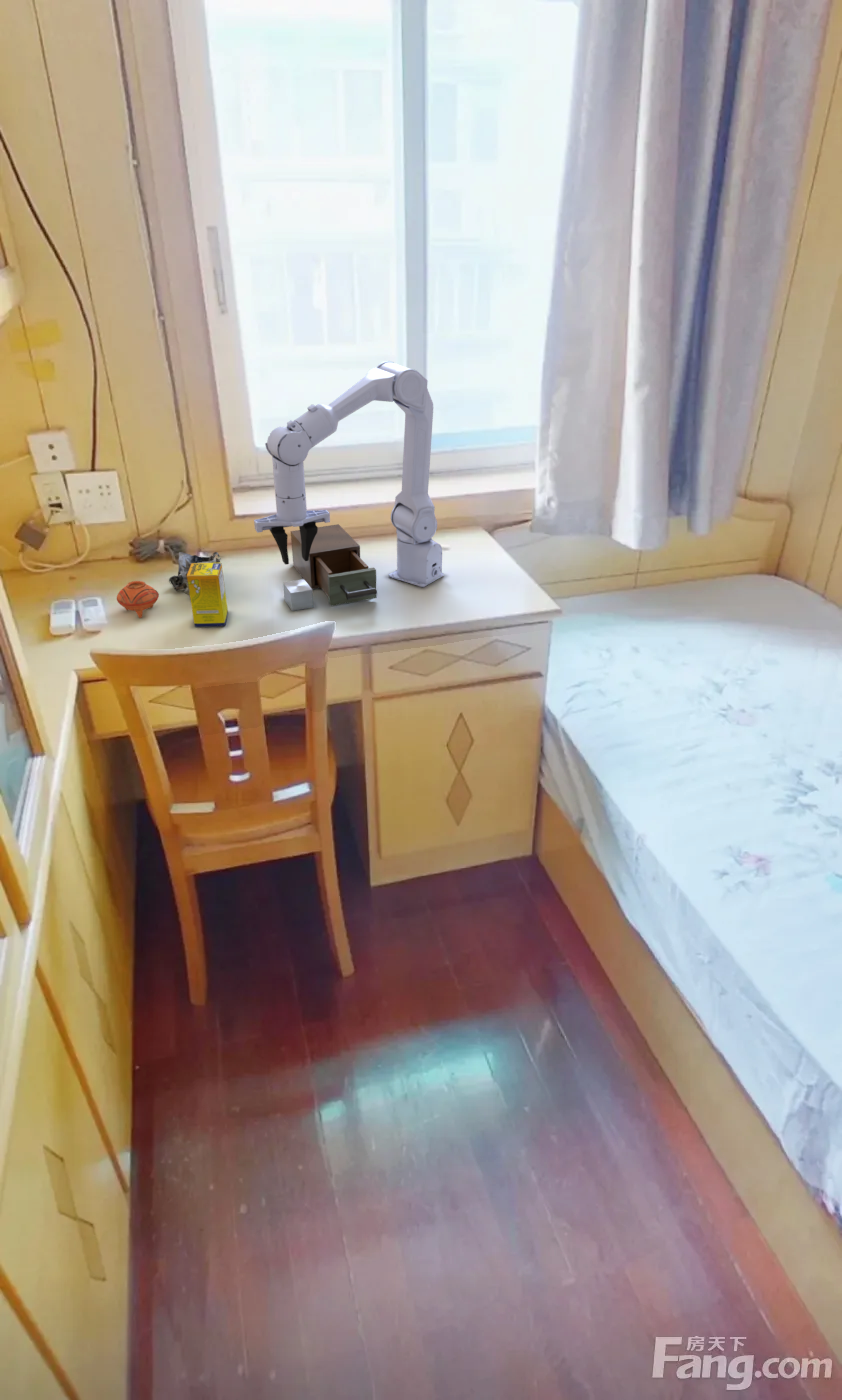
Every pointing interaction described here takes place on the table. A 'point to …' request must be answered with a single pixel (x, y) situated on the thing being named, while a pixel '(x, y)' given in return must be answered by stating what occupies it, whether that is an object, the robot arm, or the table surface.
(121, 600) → the pot
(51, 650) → the table surface
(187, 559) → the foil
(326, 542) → the cabinet
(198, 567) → the supplement box
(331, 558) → the drawer
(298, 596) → the shiny metal block
